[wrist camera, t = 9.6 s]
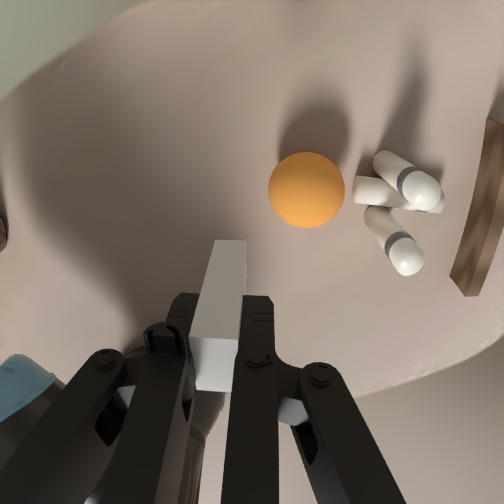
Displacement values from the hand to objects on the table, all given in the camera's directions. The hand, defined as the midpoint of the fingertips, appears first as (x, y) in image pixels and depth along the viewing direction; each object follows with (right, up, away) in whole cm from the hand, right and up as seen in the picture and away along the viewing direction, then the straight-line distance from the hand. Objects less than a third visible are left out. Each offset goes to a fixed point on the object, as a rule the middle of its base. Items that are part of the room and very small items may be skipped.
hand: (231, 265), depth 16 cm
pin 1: (+13, +9, +11) cm, 19 cm away
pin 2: (+13, +4, +13) cm, 19 cm away
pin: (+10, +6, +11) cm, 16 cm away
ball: (+5, +6, +9) cm, 12 cm away
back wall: (+25, +6, +12) cm, 28 cm away
